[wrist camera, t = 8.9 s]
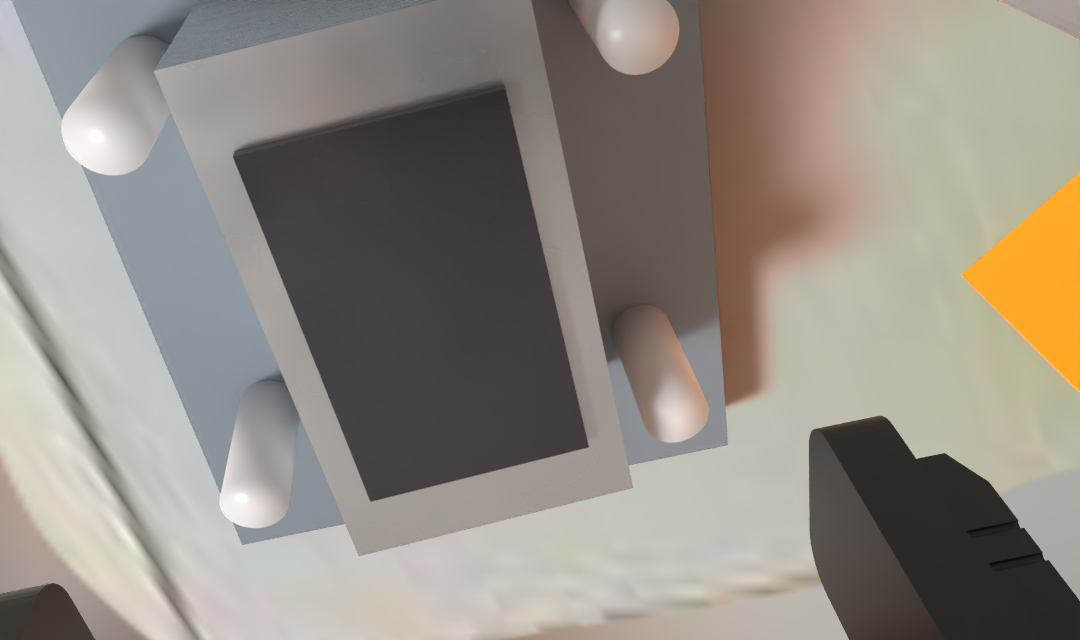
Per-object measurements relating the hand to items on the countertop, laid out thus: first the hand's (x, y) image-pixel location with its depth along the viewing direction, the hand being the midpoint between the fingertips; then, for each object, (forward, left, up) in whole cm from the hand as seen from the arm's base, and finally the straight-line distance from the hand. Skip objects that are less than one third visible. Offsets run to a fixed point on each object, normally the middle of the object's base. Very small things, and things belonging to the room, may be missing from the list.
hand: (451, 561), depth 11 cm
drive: (0, 0, -9) cm, 9 cm away
